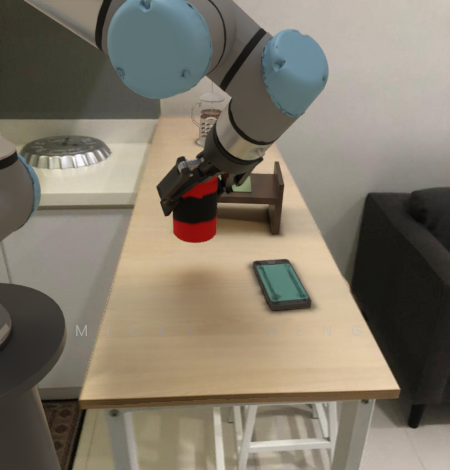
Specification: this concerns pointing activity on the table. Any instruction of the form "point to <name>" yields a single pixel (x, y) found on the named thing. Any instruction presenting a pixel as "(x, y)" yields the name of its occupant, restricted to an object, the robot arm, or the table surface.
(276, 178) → the shelf
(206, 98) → the french press
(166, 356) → the table surface
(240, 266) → the table surface
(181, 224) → the soda can
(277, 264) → the smartphone
